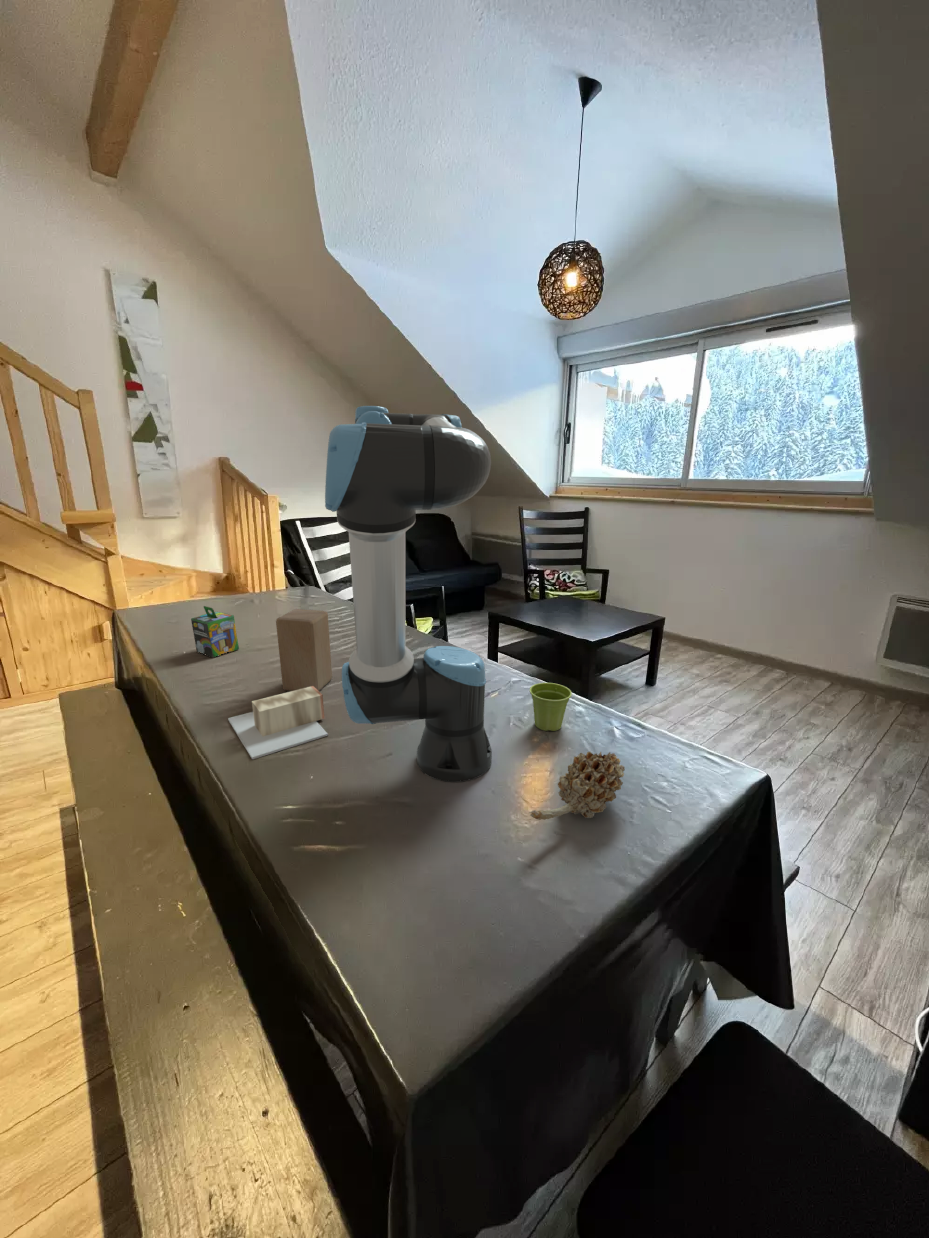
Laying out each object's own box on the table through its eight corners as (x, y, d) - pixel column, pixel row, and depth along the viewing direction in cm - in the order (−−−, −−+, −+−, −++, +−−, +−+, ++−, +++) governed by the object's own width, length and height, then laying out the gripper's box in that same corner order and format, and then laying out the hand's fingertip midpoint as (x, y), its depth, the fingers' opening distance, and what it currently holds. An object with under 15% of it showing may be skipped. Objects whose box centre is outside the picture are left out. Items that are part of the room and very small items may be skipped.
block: (316, 695, 130) (310, 621, 125) (281, 691, 132) (273, 618, 126) (333, 679, 140) (329, 610, 134) (300, 676, 142) (294, 607, 136)
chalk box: (239, 650, 161) (234, 605, 156) (212, 658, 153) (205, 612, 149) (222, 644, 165) (216, 600, 161) (195, 652, 158) (188, 607, 154)
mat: (328, 735, 111) (327, 733, 111) (252, 759, 102) (252, 757, 102) (296, 701, 127) (296, 700, 126) (228, 720, 117) (228, 718, 117)
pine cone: (586, 777, 98) (590, 731, 95) (632, 800, 91) (638, 752, 88) (512, 833, 83) (515, 781, 80) (561, 865, 76) (566, 809, 73)
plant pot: (544, 711, 123) (546, 678, 121) (576, 725, 117) (579, 691, 114) (519, 724, 117) (521, 690, 114) (552, 740, 111) (555, 704, 108)
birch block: (322, 694, 116) (259, 711, 108) (324, 718, 118) (262, 736, 110) (313, 685, 120) (251, 701, 112) (314, 708, 122) (254, 725, 114)
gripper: (391, 477, 125) (394, 571, 132) (341, 478, 117) (347, 577, 124) (407, 478, 119) (409, 576, 126) (355, 479, 111) (361, 583, 118)
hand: (378, 577), depth 125 cm, fingers closed
